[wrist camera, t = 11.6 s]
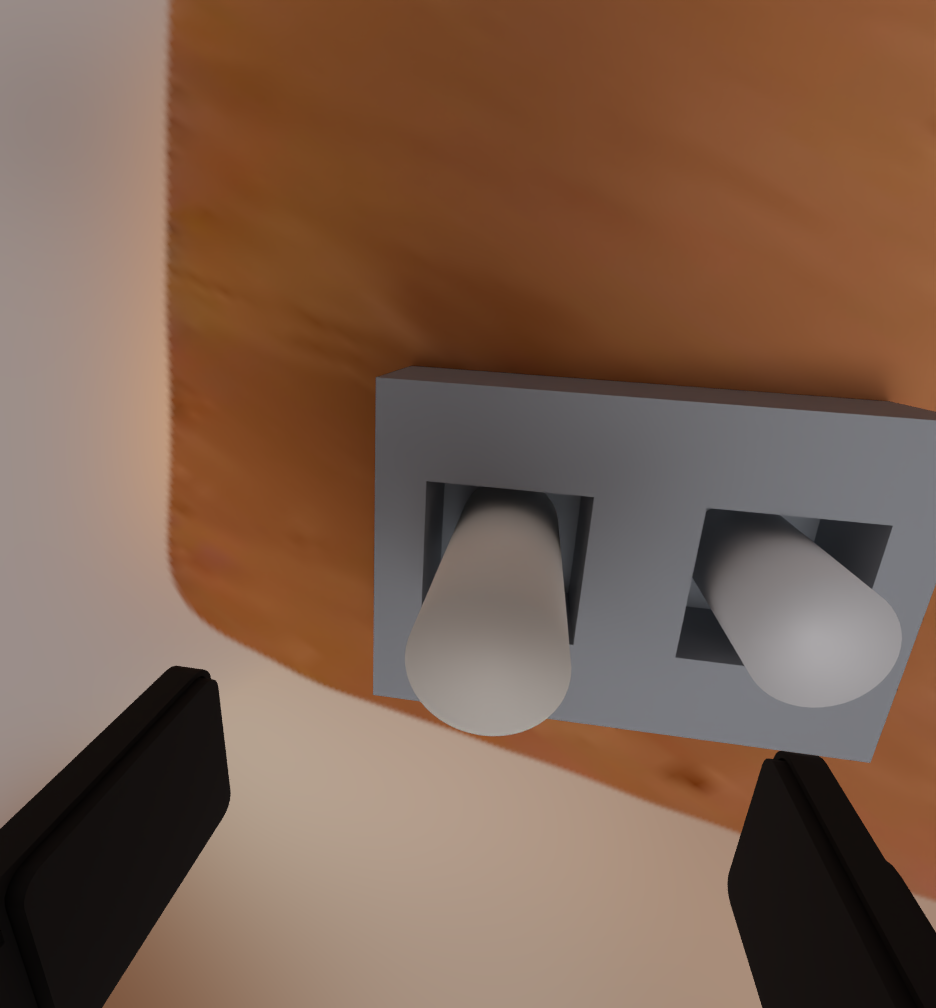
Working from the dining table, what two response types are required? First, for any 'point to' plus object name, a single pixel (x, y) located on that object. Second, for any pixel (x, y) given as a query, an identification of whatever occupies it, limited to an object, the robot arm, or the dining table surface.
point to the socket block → (680, 544)
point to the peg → (495, 619)
